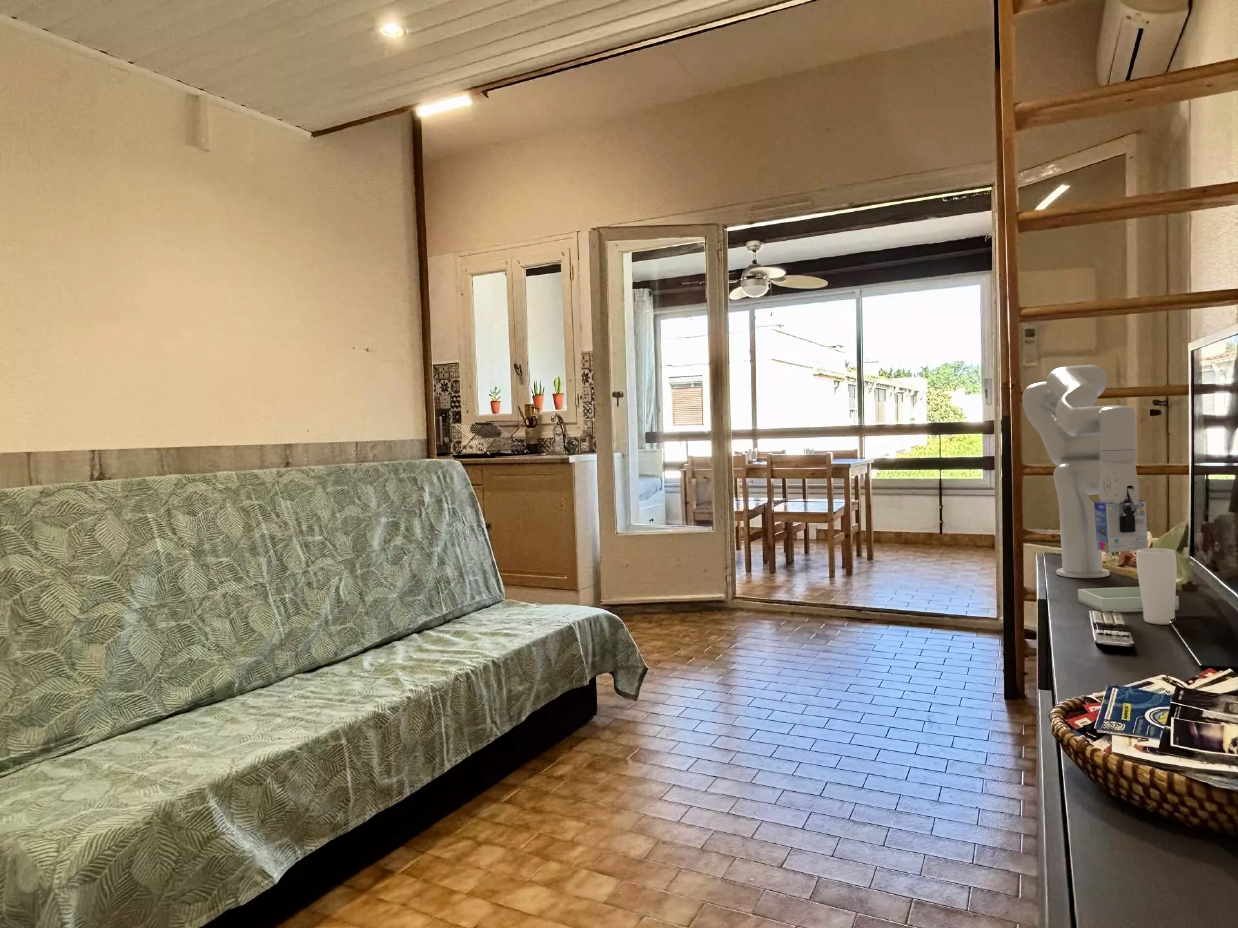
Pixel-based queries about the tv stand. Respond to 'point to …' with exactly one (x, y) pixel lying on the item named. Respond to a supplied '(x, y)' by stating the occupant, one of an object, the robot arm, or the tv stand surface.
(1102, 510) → the ink cartridge box
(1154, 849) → the tv stand surface
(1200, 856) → the tv stand surface
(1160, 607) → the drinking glass
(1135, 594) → the tray
